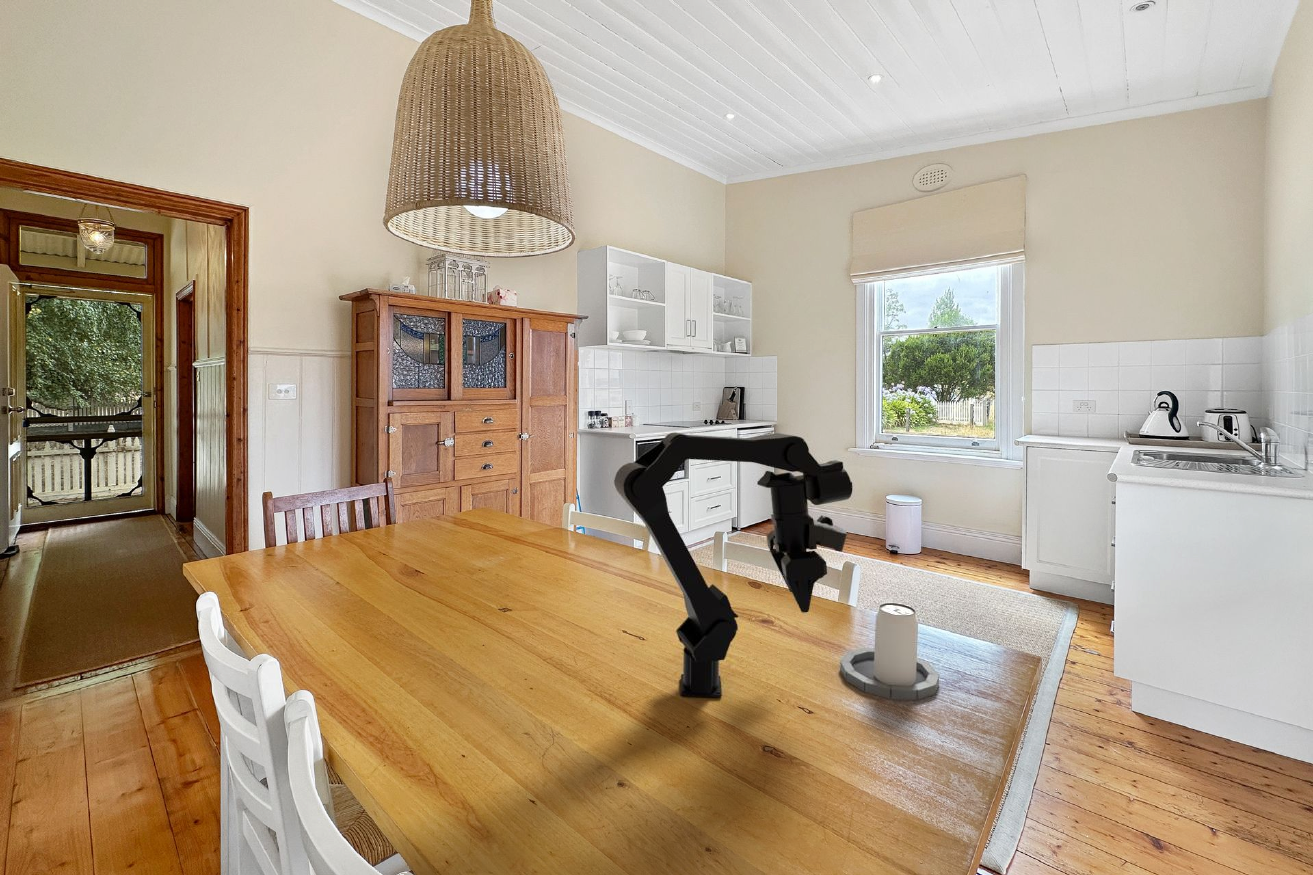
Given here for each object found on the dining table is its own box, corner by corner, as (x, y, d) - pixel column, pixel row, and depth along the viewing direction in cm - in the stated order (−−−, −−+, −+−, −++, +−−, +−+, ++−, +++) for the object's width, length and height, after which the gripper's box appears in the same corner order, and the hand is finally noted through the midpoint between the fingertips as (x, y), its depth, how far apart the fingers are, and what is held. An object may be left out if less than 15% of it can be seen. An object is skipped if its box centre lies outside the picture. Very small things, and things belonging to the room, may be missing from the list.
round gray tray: (953, 701, 93) (953, 691, 93) (854, 697, 94) (855, 688, 94) (917, 657, 108) (917, 649, 108) (832, 655, 109) (832, 646, 108)
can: (893, 667, 103) (895, 599, 102) (924, 683, 97) (927, 612, 96) (865, 674, 100) (867, 605, 99) (895, 692, 95) (898, 618, 94)
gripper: (857, 517, 89) (865, 618, 90) (824, 493, 108) (832, 577, 109) (782, 525, 89) (791, 626, 91) (762, 500, 108) (771, 584, 109)
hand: (798, 601), depth 100 cm, fingers open, 9 cm apart
